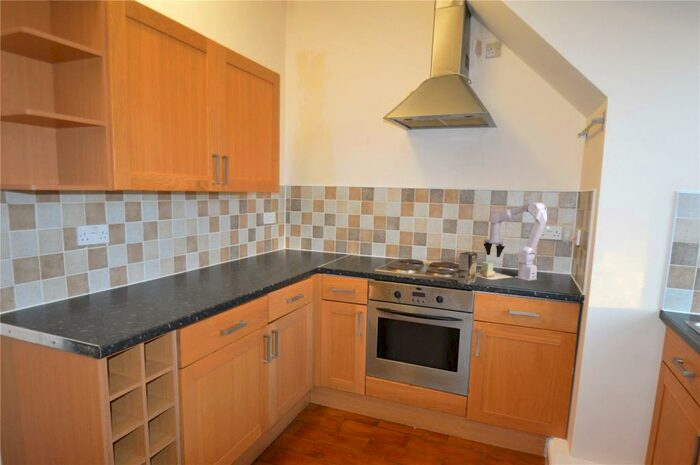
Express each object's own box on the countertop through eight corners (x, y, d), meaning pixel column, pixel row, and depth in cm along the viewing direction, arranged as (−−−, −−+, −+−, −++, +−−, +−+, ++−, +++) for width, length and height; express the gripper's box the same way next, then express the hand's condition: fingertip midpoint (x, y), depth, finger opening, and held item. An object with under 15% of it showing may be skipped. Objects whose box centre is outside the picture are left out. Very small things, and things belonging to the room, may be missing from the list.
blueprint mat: (512, 277, 235) (512, 276, 235) (490, 280, 226) (490, 279, 225) (490, 272, 248) (490, 271, 248) (469, 274, 239) (469, 273, 239)
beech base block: (494, 277, 233) (494, 271, 232) (486, 277, 230) (487, 271, 229) (486, 274, 238) (486, 269, 237) (478, 275, 235) (479, 269, 234)
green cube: (492, 270, 233) (493, 263, 232) (487, 271, 230) (488, 263, 230) (486, 269, 237) (487, 261, 236) (481, 269, 234) (481, 262, 234)
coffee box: (468, 284, 214) (470, 254, 212) (457, 282, 218) (459, 253, 216) (475, 282, 221) (477, 252, 219) (464, 280, 225) (466, 251, 223)
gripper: (481, 232, 250) (479, 254, 252) (500, 235, 238) (498, 258, 240) (489, 232, 254) (487, 253, 256) (508, 235, 241) (506, 257, 243)
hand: (493, 256), depth 248 cm, fingers open, 7 cm apart
